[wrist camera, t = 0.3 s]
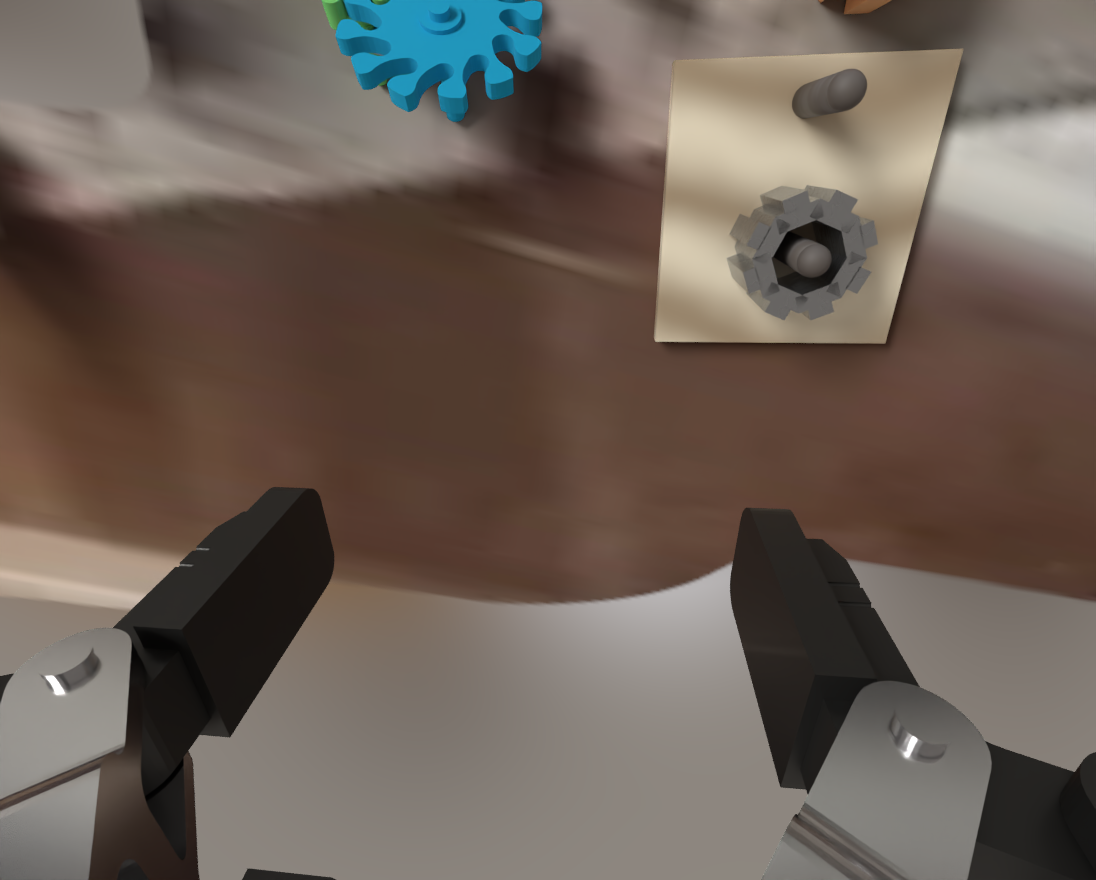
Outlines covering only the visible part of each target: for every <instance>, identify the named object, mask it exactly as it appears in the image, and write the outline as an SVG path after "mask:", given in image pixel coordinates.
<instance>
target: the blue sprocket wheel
mask: <svg viewBox="0 0 1096 880" xmlns="http://www.w3.org/2000/svg"><path fill="white" fill-rule="evenodd" d="M322 3H323V6H324V9H325V12H326V15H327V18H328V21H329V23H330V26H331V27H332V28H333V29H334V30H336V39H337V42H338V45H339V48H340V51H341V53H342V54H344V55H346V56H352V57H351V61H352V64H353V67H354V70H355V73H356V76H357V79H358V82H359V84H360V85H361V87H362V88H363V89H364V90H369V89H373V88H375V87H377V86H378V85H379V86H382V85H385V84H386V83H387V79H389V78H391V77H393V78H391V79H390V80H389V82H388V83H387V87H388V90H389V94H390V97H391V101H392V102H393V103H394V104H395V105H396V106H398V107H399V108H401V109H403V110H405V111H407V112H410V111H413V110H414V109H416V108H417V106H418V105H419V101H420V98H421V96H422V95H423V93H424V92H425V91H426V90H427V89H428V88H429V87H431V86H432V85H434V84H435V83H437V82H439V81H441V84H440V85H439V87H438V97H439V102H440V108H441V111H444V112H446V113H447V117H448V119H449V120H451V121H453V122H458V121H461V120H462V119H463V118H464V116H465V112H466V111H467V109H468V99H467V92H466V87H465V85H466V83H467V81H468V79H469V77H470V75H471V74H472V73H474V72H476V71H484V72H485V85H486V93H487V96H488V97H489V98H490V99H491V100H495V99H501V98H504V97H507V96H509V95H511V94H513V92H514V88H513V73H512V71H511V69H510V68H508V67H507V66H505V65H504V64H502V63H501V62H500V61H499V60H498V59H497V57H496V56H495V54H496V53H498V52H500V51H507V52H510V53H511V54H512V55H513V56H514V60H515V64H516V66H517V68H519V69H520V70H522V71H525V72H528V71H530V70H532V69H533V68H534V67H535V66H536V65H537V64H538V63H539V61H540V60H541V41H540V40H539V39H538V38H536V37H537V36H539V35H540V33H541V30H542V3H541V2H538V1H527V2H525V0H322ZM507 26H514V27H516V28H518V29H519V30H520V31H521V32H522V33H523V34H520V33H517V32H515V31H513V30H511V29H510V28H508V27H507ZM524 34H525V35H524ZM394 76H395V77H394Z"/></svg>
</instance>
